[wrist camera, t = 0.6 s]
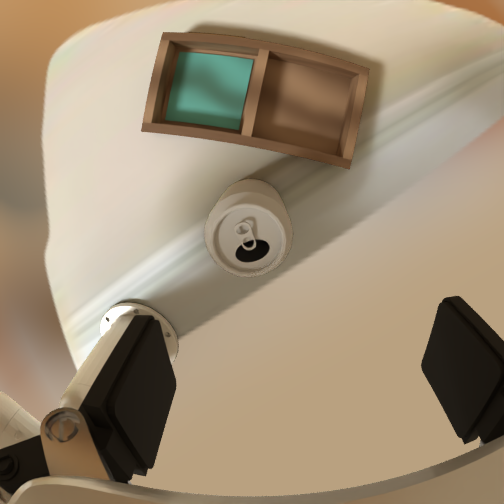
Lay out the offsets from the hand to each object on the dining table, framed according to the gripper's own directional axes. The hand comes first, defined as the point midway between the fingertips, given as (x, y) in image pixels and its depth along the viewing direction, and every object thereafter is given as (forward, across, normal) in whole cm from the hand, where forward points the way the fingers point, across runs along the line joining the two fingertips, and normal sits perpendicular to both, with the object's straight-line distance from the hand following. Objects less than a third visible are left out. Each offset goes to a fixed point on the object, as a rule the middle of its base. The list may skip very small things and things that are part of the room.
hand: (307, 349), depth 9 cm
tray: (+27, +1, -12) cm, 29 cm away
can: (+27, +3, +2) cm, 27 cm away
